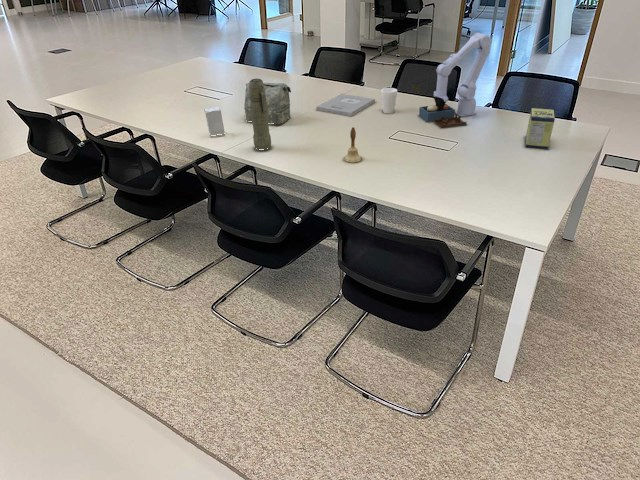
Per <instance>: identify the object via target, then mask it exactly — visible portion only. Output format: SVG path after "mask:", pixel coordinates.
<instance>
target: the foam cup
mask: <svg viewBox="0 0 640 480" xmlns="http://www.w3.org/2000/svg"><path fill="white" fill-rule="evenodd" d="M380 95H381V102H382V104H381V105H382V113H384V114H394V112H395V107H396V101H397V96H398V89H397V88H394V87H384V88H381V92H380Z"/></svg>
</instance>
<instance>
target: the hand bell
mask: <svg viewBox="0 0 640 480" xmlns="http://www.w3.org/2000/svg"><path fill="white" fill-rule="evenodd" d="M349 132H350V133H349V134H350V147H349V148H348V149H347V154H346V155H345V156H344V158H343V160H344V161H345V162H347V163H351V164H353V163H359V162H361V161H362V157H361V156H360V154H359V151H358V148H357V147H356V143H355V142H356V141H355V140H356V135H357V132H356V129H355V127H354V126H352V127H351V129H350V131H349Z"/></svg>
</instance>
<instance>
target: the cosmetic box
mask: <svg viewBox="0 0 640 480" xmlns="http://www.w3.org/2000/svg"><path fill="white" fill-rule="evenodd" d="M204 114H205V119H206V125H207V129H208V134H209V133H210V134H209V136H210V135H216V136H210V138H211V139H213V138H217V137H223V136H226V132H225V127H224V121H223V115H222V109H221V108H220V107H219V106H215V107H209V108H206V109H205V108H204ZM224 133H225V134H224ZM217 134H222V135H217Z"/></svg>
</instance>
